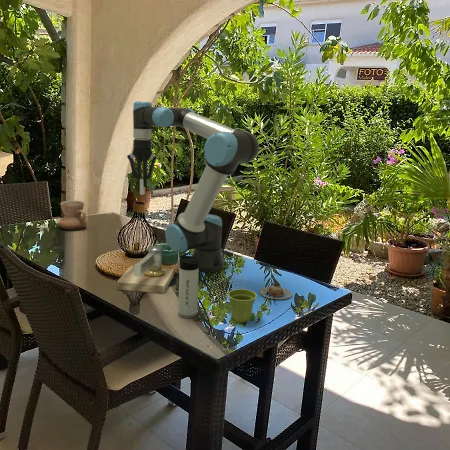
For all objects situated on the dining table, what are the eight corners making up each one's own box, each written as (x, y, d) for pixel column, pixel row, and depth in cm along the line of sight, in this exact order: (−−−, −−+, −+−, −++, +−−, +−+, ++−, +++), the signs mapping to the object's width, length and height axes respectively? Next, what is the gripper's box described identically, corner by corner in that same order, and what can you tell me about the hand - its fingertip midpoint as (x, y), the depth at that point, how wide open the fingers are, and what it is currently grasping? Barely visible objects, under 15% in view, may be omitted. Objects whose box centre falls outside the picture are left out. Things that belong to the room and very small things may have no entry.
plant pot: (252, 326, 148) (254, 301, 146) (224, 323, 150) (225, 298, 148) (256, 314, 157) (258, 290, 155) (229, 311, 159) (230, 287, 157)
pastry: (266, 303, 168) (267, 291, 167) (255, 290, 179) (255, 279, 178) (296, 300, 171) (297, 288, 170) (283, 288, 183) (284, 277, 181)
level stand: (173, 276, 188) (174, 268, 188) (164, 293, 171) (164, 285, 170) (130, 273, 190) (130, 265, 189) (116, 289, 172) (116, 281, 172)
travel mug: (186, 308, 159) (188, 253, 154) (200, 314, 155) (202, 257, 150) (173, 314, 155) (174, 257, 150) (188, 320, 151) (189, 262, 146)
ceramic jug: (52, 227, 250) (50, 202, 247) (74, 223, 262) (73, 198, 258) (73, 234, 241) (72, 207, 237) (95, 228, 252) (94, 203, 249)
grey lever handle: (148, 268, 186) (148, 244, 184) (167, 270, 185) (167, 246, 182) (127, 287, 166) (126, 261, 164) (148, 289, 165) (148, 263, 162)
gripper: (159, 139, 199) (159, 193, 204) (129, 137, 200) (130, 191, 205) (155, 140, 191) (154, 196, 197) (124, 138, 192) (125, 194, 198)
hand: (142, 193), depth 201 cm, fingers closed
